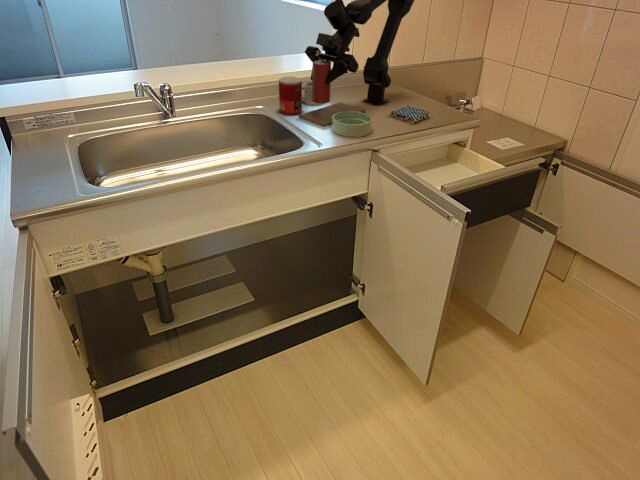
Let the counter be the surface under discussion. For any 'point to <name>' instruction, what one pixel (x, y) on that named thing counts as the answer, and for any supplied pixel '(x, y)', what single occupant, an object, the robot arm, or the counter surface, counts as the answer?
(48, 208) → the counter surface
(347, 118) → the bowl
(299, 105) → the canned food
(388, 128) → the counter surface
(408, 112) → the woven mat
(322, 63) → the drink can
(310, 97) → the mug
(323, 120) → the cutting board
